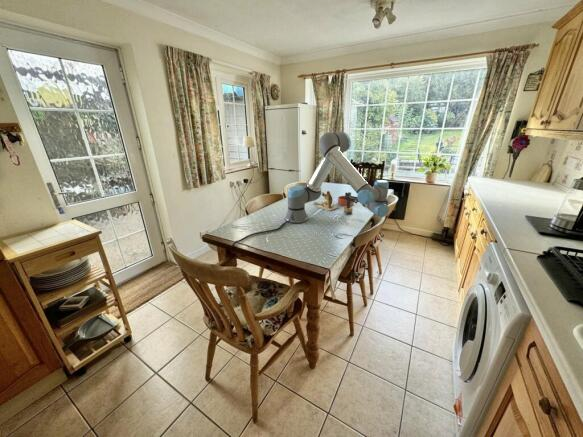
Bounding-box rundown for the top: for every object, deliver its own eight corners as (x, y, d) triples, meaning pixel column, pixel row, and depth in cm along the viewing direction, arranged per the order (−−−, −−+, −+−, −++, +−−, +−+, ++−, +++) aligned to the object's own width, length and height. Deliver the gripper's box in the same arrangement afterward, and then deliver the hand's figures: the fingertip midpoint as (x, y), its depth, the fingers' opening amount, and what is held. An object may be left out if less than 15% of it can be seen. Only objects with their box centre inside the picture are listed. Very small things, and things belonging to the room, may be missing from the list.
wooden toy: (338, 208, 187) (339, 191, 182) (329, 211, 181) (330, 194, 176) (319, 202, 204) (320, 186, 199) (310, 204, 198) (311, 188, 193)
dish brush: (352, 214, 174) (353, 193, 168) (346, 214, 173) (348, 193, 167) (348, 211, 179) (350, 191, 174) (343, 212, 179) (344, 191, 173)
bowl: (343, 207, 189) (344, 201, 187) (334, 203, 200) (334, 196, 198) (357, 205, 194) (357, 198, 192) (347, 201, 205) (347, 194, 203)
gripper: (350, 210, 141) (337, 200, 160) (388, 207, 145) (371, 197, 164) (351, 198, 138) (338, 189, 158) (389, 195, 142) (372, 187, 162)
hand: (355, 193), depth 161 cm, fingers open, 13 cm apart
